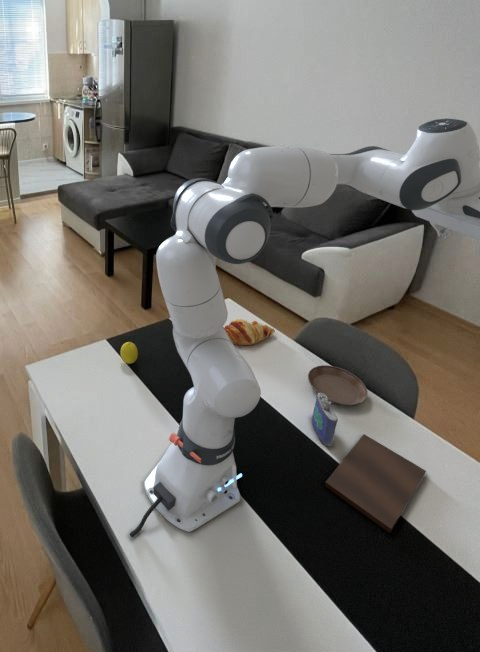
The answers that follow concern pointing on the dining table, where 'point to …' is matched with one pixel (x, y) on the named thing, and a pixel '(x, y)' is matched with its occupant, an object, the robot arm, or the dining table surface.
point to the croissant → (247, 332)
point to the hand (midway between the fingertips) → (466, 244)
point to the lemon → (129, 352)
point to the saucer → (337, 385)
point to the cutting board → (376, 482)
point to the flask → (324, 420)
